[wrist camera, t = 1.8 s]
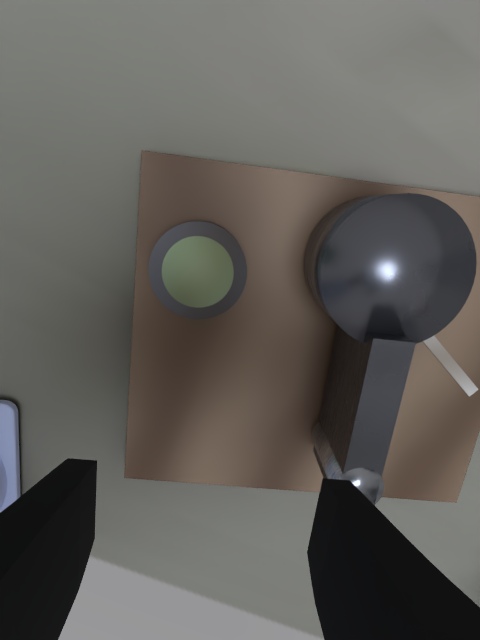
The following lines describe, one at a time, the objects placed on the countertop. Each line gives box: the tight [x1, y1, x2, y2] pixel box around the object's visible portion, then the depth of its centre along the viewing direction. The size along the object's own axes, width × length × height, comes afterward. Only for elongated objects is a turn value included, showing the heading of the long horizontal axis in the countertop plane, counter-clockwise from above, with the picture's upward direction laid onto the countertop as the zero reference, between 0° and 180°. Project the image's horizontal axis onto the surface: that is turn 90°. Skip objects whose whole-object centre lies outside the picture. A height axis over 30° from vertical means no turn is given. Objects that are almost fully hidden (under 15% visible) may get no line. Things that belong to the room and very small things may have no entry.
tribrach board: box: [124, 151, 480, 503], centre depth 17 cm, size 16×14×2 cm
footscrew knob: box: [304, 193, 477, 506], centre depth 15 cm, size 11×5×4 cm, turn 173°
